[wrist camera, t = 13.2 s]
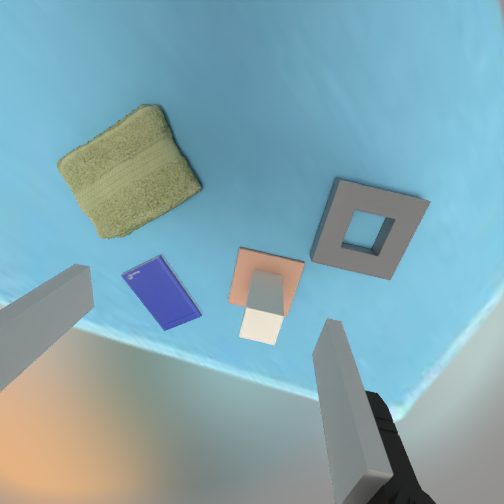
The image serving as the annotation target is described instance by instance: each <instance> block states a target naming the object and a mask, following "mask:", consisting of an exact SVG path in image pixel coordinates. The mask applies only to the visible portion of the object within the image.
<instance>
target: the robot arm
mask: <svg viewBox="0 0 504 504" xmlns="http://www.w3.org/2000/svg"><path fill="white" fill-rule="evenodd" d="M93 307H94V302H93V293H92V285H91V276H90V267H89V266H84V265H79V264H74V265H73V266H71V267H70V268H68V269H66V270H65V271H63V272H61V273H60V274H58V275H57V276H55V277H53V278H52V279H50V280H48V281H47V282H45V283H44V284H42V285H40V286H39V287H37V288H35V289H34V290H32V291H31V292H29V293H27V294H26V295H24V296H22V297H21V298H19V299H18V300H16V301H14V302H13V303H11V304H9V305H8V306H6V307H5V308H3V309H1V310H0V392H1V391H2V390H3V389H4V388H5V387H6V386H7V385H9V384H10V383H11V382H12V381H13V380H14V379H15V378H16V377H17V376H18V375H20V374H21V373H22V372H23V371H24V370H25V369H26V368H27V367H28V366H29V365H30V364H32V363H33V362H34V361H35V360H36V359H37V358H38V357H39V356H40V355H41V354H43V353H44V352H45V351H46V350H47V349H48V348H49V347H50V346H51V345H53V344H54V343H55V342H56V341H57V340H58V339H59V338H60V337H61V336H63V335H64V334H65V333H66V332H67V331H68V330H69V329H70V328H71V327H72V326H74V325H75V324H76V323H77V322H78V321H79V320H80V319H81V318H82V317H83V316H85V315H86V314H87V313H88V312H89V311H90V310H91V309H92V308H93ZM312 356H313V363H314V369H315V376H316V382H317V389H318V395H319V402H320V408H321V414H322V421H323V428H324V434H325V441H326V447H327V453H328V459H329V466H330V473H331V480H332V486H333V492H334V498H335V504H436V503H435V502H434V501H433V500H432V499H431V497H430V496H429V495H428V494H427V493H425V492H424V491H422V489H421V487H420V485H419V483H418V481H417V479H416V476H415V474H414V471H413V468H412V466H411V464H410V461H409V459H408V456H407V454H406V451H405V449H404V446H403V444H402V441H401V439H400V437H399V435H398V431H397V429H396V427H395V424H394V423H393V419H392V417H391V414H390V412H389V409H388V407H387V405H386V404H385V403H384V401H383V400H382V398H381V397H380V396H379V394H378V393H374V392H370V391H365V390H364V387H363V384H362V381H361V378H360V375H359V372H358V369H357V366H356V363H355V360H354V357H353V354H352V352H351V349H350V346H349V343H348V340H347V337H346V334H345V331H344V328H343V325H342V322H341V321H337V320H333V319H328V318H327V320H326V322H325V325H324V327H323V330H322V332H321V334H320V337H319V339H318V342H317V344H316V347H315V349H314V351H313V354H312Z"/></svg>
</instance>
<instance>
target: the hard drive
mask: <svg viewBox="0 0 504 504" xmlns="http://www.w3.org/2000/svg"><path fill="white" fill-rule="evenodd" d="M121 276H122V277H123V279H124V280H125V281H126V283H127V284H128V285H129V286H130V288H131V289H132V290H133V291H134V293H135V294H136V295H137V297H138V298H139V299H140V300H141V302H142V303H143V304H144V306H145V307H146V308H147V309H148V311H149V312H150V313H151V315H152V316H153V317H154V318H155V320H156V321H157V322H158V323H159V325H160V326H161V327H162V329H163V330H164V331H166V330H168V329H171V328H173V327H176V326H178V325H181V324H183V323H186V322H188V321H191V320H193V319H196V318H199V317H200V316H202V314H203V312H202V311H201V309H200V308H199V306H198V305H197V303H196V302H195V300H194V299H193V298H192V296H191V295H190V293H189V292H188V290H187V289H186V287H185V286H184V285H183V283H182V282H181V280H180V279H179V277H178V276H177V275H176V273H175V272H174V270H173V269H172V267H171V266H170V264H169V263H168V262H167V260H166V259H165V257H164V256H163V254H161V255H159V256H157V257H155V258H153V259H151V260H149V261H147V262H145V263H143V264H141V265H139V266H137V267H135V268H133V269H131V270H129V271H127V272H125V273H123V274H122V275H121Z"/></svg>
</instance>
